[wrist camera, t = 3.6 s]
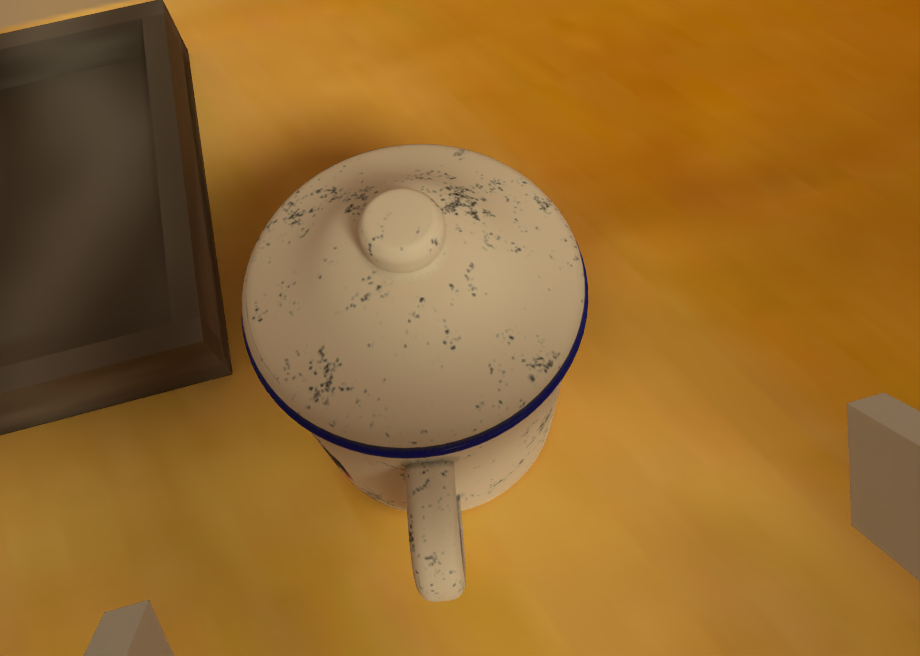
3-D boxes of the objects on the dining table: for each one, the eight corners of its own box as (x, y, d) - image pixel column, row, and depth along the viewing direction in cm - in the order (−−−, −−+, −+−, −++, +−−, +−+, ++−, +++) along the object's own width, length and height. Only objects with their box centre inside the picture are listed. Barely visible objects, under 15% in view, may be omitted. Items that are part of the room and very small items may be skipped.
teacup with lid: (316, 303, 28) (210, 84, 17) (541, 282, 28) (571, 50, 17) (313, 627, 23) (158, 594, 12) (591, 601, 23) (678, 544, 12)
